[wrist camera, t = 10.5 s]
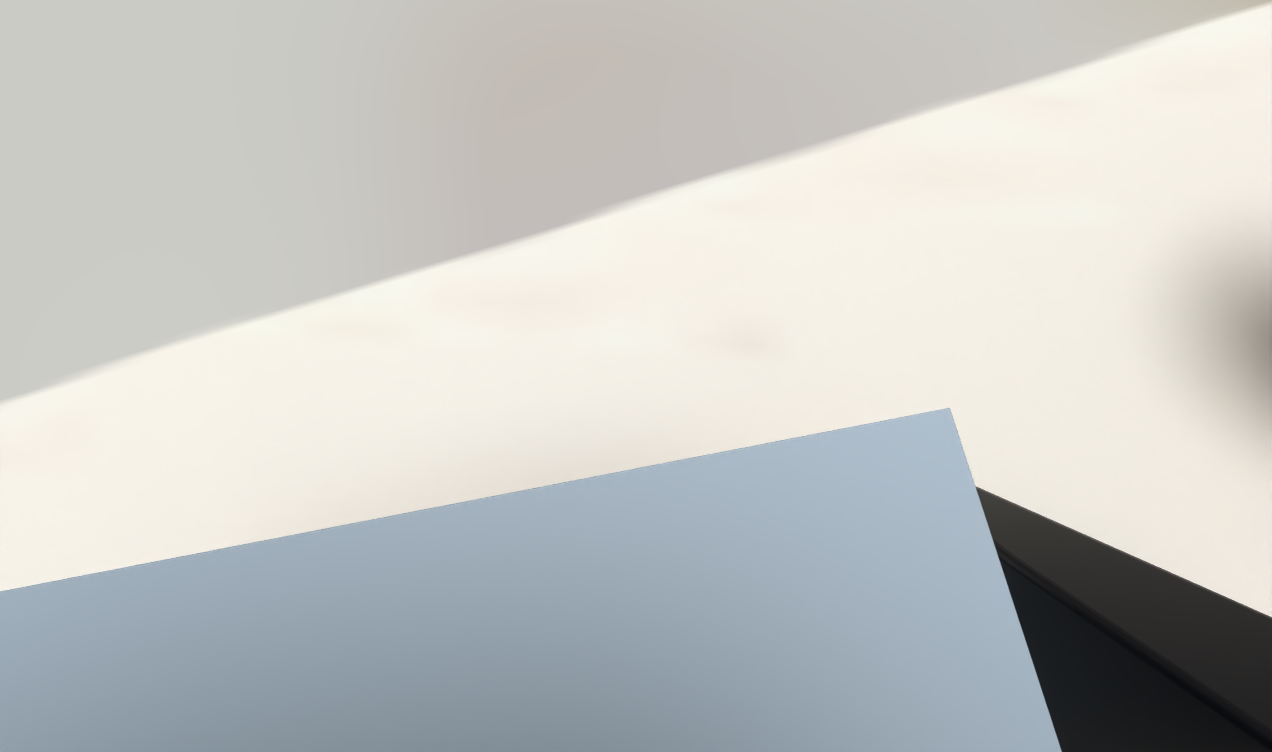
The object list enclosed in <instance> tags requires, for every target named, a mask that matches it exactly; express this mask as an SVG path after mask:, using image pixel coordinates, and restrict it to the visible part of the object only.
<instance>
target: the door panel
mask: <svg viewBox="0 0 1272 752" xmlns="http://www.w3.org/2000/svg"><path fill="white" fill-rule="evenodd" d="M0 752H1062V751H1061V748H1060V745H1059V742H1058V739H1057V736H1056V733H1055V730H1054V727H1053V723H1052V720H1051V717H1050V714H1049V711H1048V708H1047V705H1046V702H1045V699H1044V696H1043V693H1042V690H1041V687H1040V684H1039V680H1038V677H1037V674H1036V671H1035V668H1034V665H1033V662H1032V659H1031V656H1030V653H1029V650H1028V647H1027V644H1026V641H1025V637H1024V634H1023V631H1022V628H1021V625H1020V622H1019V619H1018V616H1017V613H1016V610H1015V607H1014V604H1013V601H1012V598H1011V594H1010V591H1009V588H1008V585H1007V582H1006V579H1005V576H1004V573H1003V570H1002V567H1001V564H1000V561H999V558H998V555H997V551H996V548H995V545H994V542H993V539H992V536H991V533H990V530H989V527H988V524H987V521H986V518H985V515H984V512H983V508H982V505H981V502H980V499H979V496H978V493H977V490H976V487H975V484H974V481H973V478H972V475H971V472H970V469H969V465H968V462H967V459H966V456H965V453H964V450H963V447H962V444H961V441H960V438H959V435H958V432H957V429H956V426H955V422H954V419H953V416H952V413H951V410H950V408H947V409H942V410H936V411H931V412H926V413H921V414H916V415H911V416H905V417H900V418H895V419H890V420H885V421H880V422H874V423H869V424H864V425H859V426H854V427H848V428H843V429H838V430H833V431H828V432H823V433H817V434H812V435H807V436H802V437H797V438H792V439H786V440H781V441H776V442H771V443H766V444H761V445H755V446H750V447H745V448H740V449H735V450H730V451H724V452H719V453H714V454H709V455H704V456H699V457H693V458H688V459H683V460H678V461H673V462H668V463H662V464H657V465H652V466H647V467H642V468H637V469H631V470H626V471H621V472H616V473H611V474H606V475H600V476H595V477H590V478H585V479H580V480H575V481H569V482H564V483H559V484H554V485H549V486H544V487H538V488H533V489H528V490H523V491H518V492H513V493H507V494H502V495H497V496H492V497H487V498H481V499H476V500H471V501H466V502H461V503H456V504H450V505H445V506H440V507H435V508H430V509H425V510H419V511H414V512H409V513H404V514H399V515H394V516H388V517H383V518H378V519H373V520H368V521H363V522H357V523H352V524H347V525H342V526H337V527H332V528H326V529H321V530H316V531H311V532H306V533H301V534H295V535H290V536H285V537H280V538H275V539H270V540H264V541H259V542H254V543H249V544H244V545H239V546H233V547H228V548H223V549H218V550H213V551H208V552H202V553H197V554H192V555H187V556H182V557H177V558H171V559H166V560H161V561H156V562H151V563H146V564H140V565H135V566H130V567H125V568H120V569H114V570H109V571H104V572H99V573H94V574H89V575H83V576H78V577H73V578H68V579H63V580H58V581H52V582H47V583H42V584H37V585H32V586H27V587H21V588H16V589H11V590H6V591H1V592H0Z"/></svg>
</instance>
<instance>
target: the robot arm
mask: <svg viewBox="0 0 1272 752" xmlns="http://www.w3.org/2000/svg"><path fill="white" fill-rule="evenodd" d="M975 487H976V486H975ZM976 490H977V493H978V496H979V499H980V502H981V505H982V508H983V512H984V515H985V518H986V521H987V524H988V527H989V530H990V533H991V536H992V539H993V542H994V545H995V548H996V551H997V555H998V558H999V561H1000V564H1001V567H1002V570H1003V573H1004V576H1005V579H1006V582H1007V585H1008V588H1009V591H1010V594H1011V598H1012V601H1013V604H1014V607H1015V610H1016V613H1017V616H1018V619H1019V622H1020V625H1021V628H1022V631H1023V634H1024V637H1025V641H1026V644H1027V647H1028V650H1029V653H1030V656H1031V659H1032V662H1033V665H1034V668H1035V671H1036V674H1037V677H1038V680H1039V684H1040V687H1041V690H1042V693H1043V696H1044V699H1045V702H1046V705H1047V708H1048V711H1049V714H1050V717H1051V720H1052V723H1053V727H1054V730H1055V733H1056V736H1057V739H1058V742H1059V745H1060V748H1061V751H1062V752H1272V617H1270V616H1268V615H1265V614H1263V613H1261V612H1259V611H1256V610H1254V609H1252V608H1250V607H1247V606H1245V605H1243V604H1241V603H1238V602H1236V601H1234V600H1232V599H1229V598H1227V597H1225V596H1222V595H1220V594H1218V593H1216V592H1213V591H1211V590H1209V589H1207V588H1204V587H1202V586H1200V585H1198V584H1195V583H1193V582H1191V581H1189V580H1186V579H1184V578H1182V577H1180V576H1177V575H1175V574H1173V573H1171V572H1168V571H1166V570H1164V569H1161V568H1159V567H1157V566H1155V565H1152V564H1150V563H1148V562H1146V561H1143V560H1141V559H1139V558H1137V557H1134V556H1132V555H1130V554H1128V553H1125V552H1123V551H1121V550H1119V549H1116V548H1114V547H1112V546H1110V545H1107V544H1105V543H1103V542H1100V541H1098V540H1096V539H1094V538H1091V537H1089V536H1087V535H1085V534H1082V533H1080V532H1078V531H1076V530H1073V529H1071V528H1069V527H1067V526H1064V525H1062V524H1060V523H1058V522H1055V521H1053V520H1051V519H1048V518H1046V517H1044V516H1042V515H1039V514H1037V513H1035V512H1033V511H1030V510H1028V509H1026V508H1024V507H1021V506H1019V505H1017V504H1015V503H1012V502H1010V501H1008V500H1006V499H1003V498H1001V497H999V496H997V495H994V494H992V493H990V492H987V491H985V490H983V489H981V488H978V487H976Z"/></svg>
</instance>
